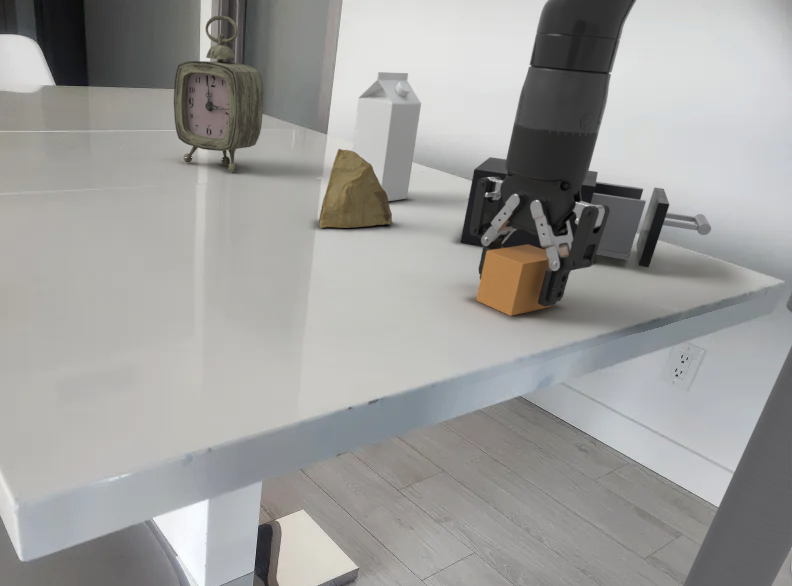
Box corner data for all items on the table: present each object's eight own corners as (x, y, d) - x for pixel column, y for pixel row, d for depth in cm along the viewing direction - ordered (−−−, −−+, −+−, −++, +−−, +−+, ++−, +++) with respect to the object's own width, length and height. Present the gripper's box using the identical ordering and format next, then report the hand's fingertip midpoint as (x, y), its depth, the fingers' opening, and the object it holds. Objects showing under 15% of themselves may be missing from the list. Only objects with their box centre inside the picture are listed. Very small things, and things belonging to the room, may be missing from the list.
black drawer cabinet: (579, 240, 96) (597, 171, 92) (574, 263, 86) (595, 186, 81) (476, 223, 101) (489, 157, 96) (460, 242, 90) (474, 169, 86)
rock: (398, 202, 99) (333, 185, 100) (409, 161, 91) (338, 142, 92) (380, 261, 94) (312, 242, 95) (391, 222, 86) (316, 202, 87)
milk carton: (347, 194, 112) (361, 70, 104) (375, 190, 117) (390, 71, 108) (379, 203, 108) (396, 74, 99) (407, 199, 112) (425, 75, 104)
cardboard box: (516, 292, 74) (528, 244, 71) (551, 306, 70) (564, 256, 68) (475, 300, 70) (486, 250, 68) (510, 316, 67) (523, 263, 64)
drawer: (690, 253, 91) (710, 195, 87) (698, 276, 81) (722, 211, 78) (543, 229, 97) (557, 173, 93) (535, 247, 87) (550, 186, 84)
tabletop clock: (173, 162, 126) (173, 11, 115) (205, 157, 133) (207, 15, 122) (234, 175, 120) (240, 16, 108) (264, 169, 126) (272, 20, 115)
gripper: (651, 135, 59) (598, 311, 66) (520, 113, 69) (487, 267, 77) (601, 136, 55) (551, 322, 63) (470, 112, 65) (440, 275, 73)
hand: (516, 291), depth 70 cm, fingers open, 7 cm apart
